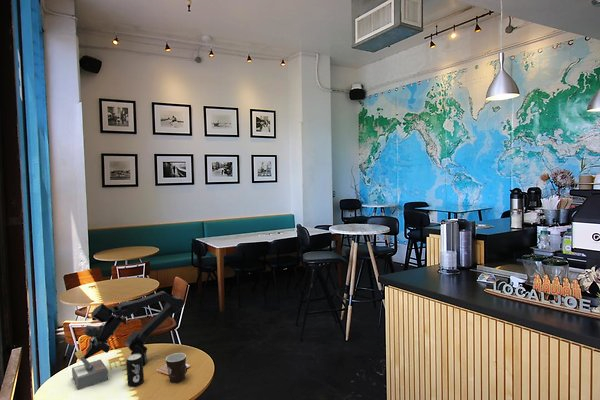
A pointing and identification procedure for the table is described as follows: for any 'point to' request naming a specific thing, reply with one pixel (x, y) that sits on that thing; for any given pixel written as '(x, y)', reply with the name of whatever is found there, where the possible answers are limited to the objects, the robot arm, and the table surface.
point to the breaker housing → (89, 374)
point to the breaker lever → (83, 359)
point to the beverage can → (135, 370)
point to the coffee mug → (176, 367)
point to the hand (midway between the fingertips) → (84, 358)
